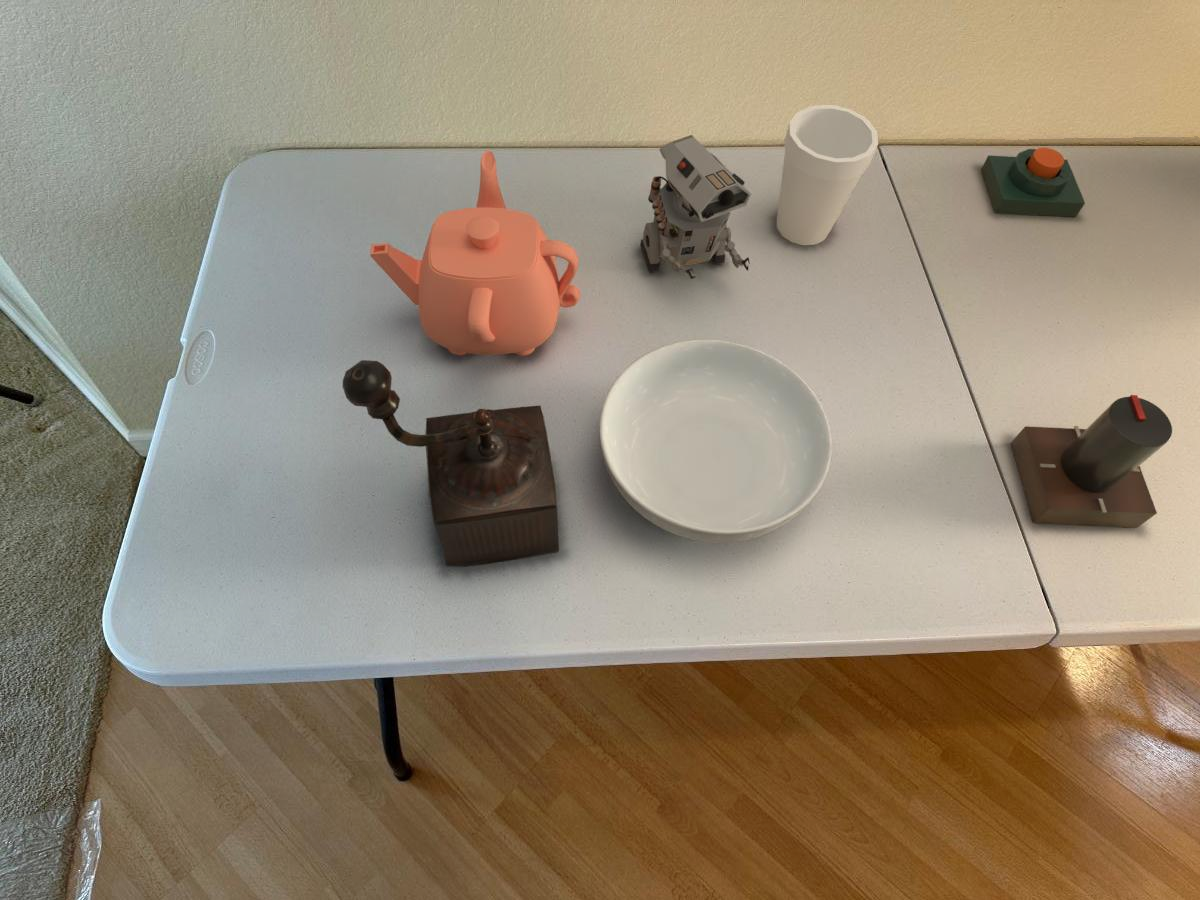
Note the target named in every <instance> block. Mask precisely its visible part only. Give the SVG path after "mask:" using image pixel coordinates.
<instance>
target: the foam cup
mask: <svg viewBox="0 0 1200 900" xmlns="http://www.w3.org/2000/svg"><path fill="white" fill-rule="evenodd" d="M878 146H879V137H878V131H877V129H876V128H875V126H874V125H873V124H872V123H871V122H870V121H869V119H868V118H867V117H865V116H863V115H862V114H859V113H858V112H857V111H854V110H853V109H850V108H848V107H843V106H838V105H835V104H822V105H821V104H820V105H818V104H817V105H811V106H809V107H806V108H804V109H800V110H798V111H797V112H796V113H795V114H794V116H793V117H792V118H791V119H790V120H789V123H788V127H787V130H786V134H785V137H784V157H783V164H782V165H783V166H782V173H781V181H780V190H779V197H778V204H777V205H778V206H777V214H776V229H777V231H778V232H779V234H780V235H781V237H783V238H785V239H786V240H787V241H789V242H790V243H793V244H797V245H801V246H815V245H817V244H819V243H821V242H824V241H825V240H826V238H827V237H828V235H829V234H830V232H831V231H832V229H833V227H834V225H835V223H836V222H837V220H838V219H839V216H840V215H841V213H842V212H843V209H844V208H845V206H846V204H847V203H848V200H849V199H850V197H851V195H852V194H853V192H854V190H855V188H856V186H857V185H858V182H859V181H860V179H861V177H862V176H863V174H864V173H865V172H866V170H867V169H868V168H869V166H870V165H871V163H872V161H873V159H874V156H875V153H876V151H877V149H878Z"/></svg>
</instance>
